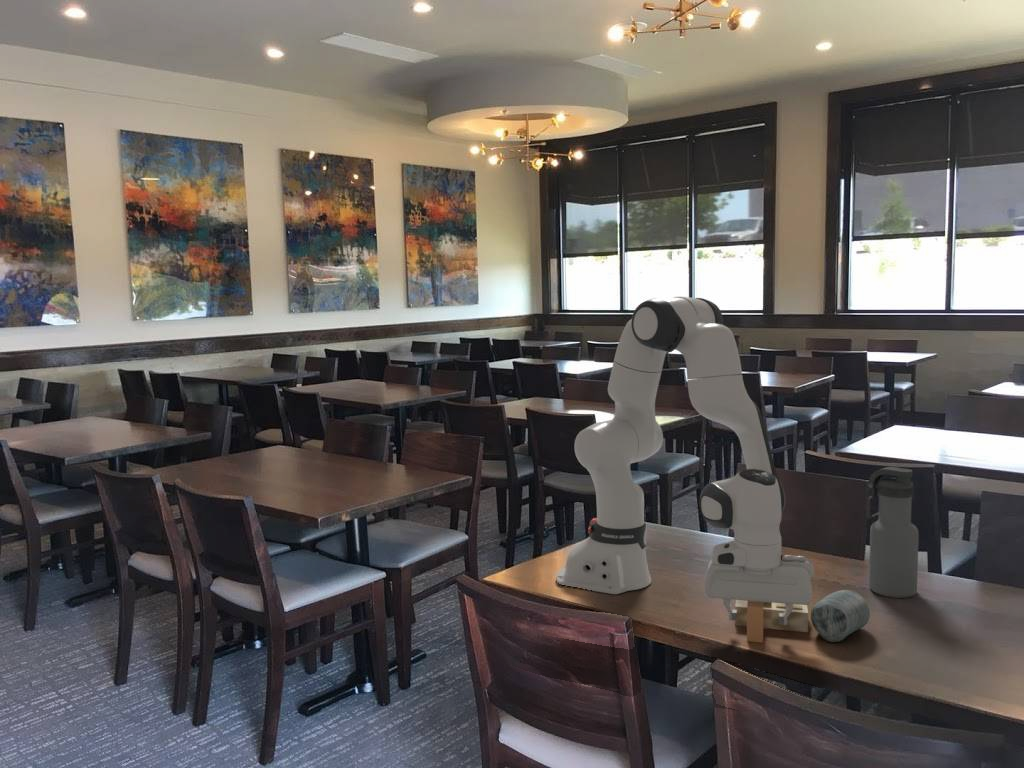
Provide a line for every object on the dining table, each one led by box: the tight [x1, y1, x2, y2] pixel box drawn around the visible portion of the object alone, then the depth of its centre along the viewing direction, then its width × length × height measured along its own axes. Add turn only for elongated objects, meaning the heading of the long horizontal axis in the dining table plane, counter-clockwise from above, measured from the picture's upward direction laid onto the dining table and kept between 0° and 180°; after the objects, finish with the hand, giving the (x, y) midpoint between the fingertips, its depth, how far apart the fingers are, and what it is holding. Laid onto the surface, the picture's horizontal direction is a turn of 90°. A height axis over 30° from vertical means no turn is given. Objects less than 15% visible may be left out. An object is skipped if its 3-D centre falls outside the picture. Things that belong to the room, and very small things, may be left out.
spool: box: [810, 589, 871, 643], centre depth 159 cm, size 14×10×10 cm
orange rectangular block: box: [746, 601, 764, 643], centre depth 159 cm, size 3×5×7 cm, turn 162°
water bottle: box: [866, 466, 920, 599], centre depth 180 cm, size 10×10×28 cm
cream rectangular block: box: [734, 600, 809, 633], centre depth 166 cm, size 14×8×4 cm, turn 72°
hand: (757, 621), depth 159 cm, fingers open, 8 cm apart
